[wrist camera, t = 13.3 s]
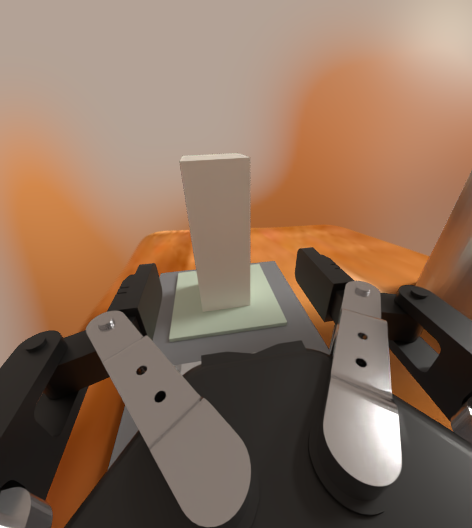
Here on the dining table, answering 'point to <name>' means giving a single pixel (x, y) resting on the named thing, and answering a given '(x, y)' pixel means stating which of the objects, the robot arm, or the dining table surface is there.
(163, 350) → the grey tray
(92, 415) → the dining table surface
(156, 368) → the robot arm
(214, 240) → the cream block
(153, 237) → the dining table surface
